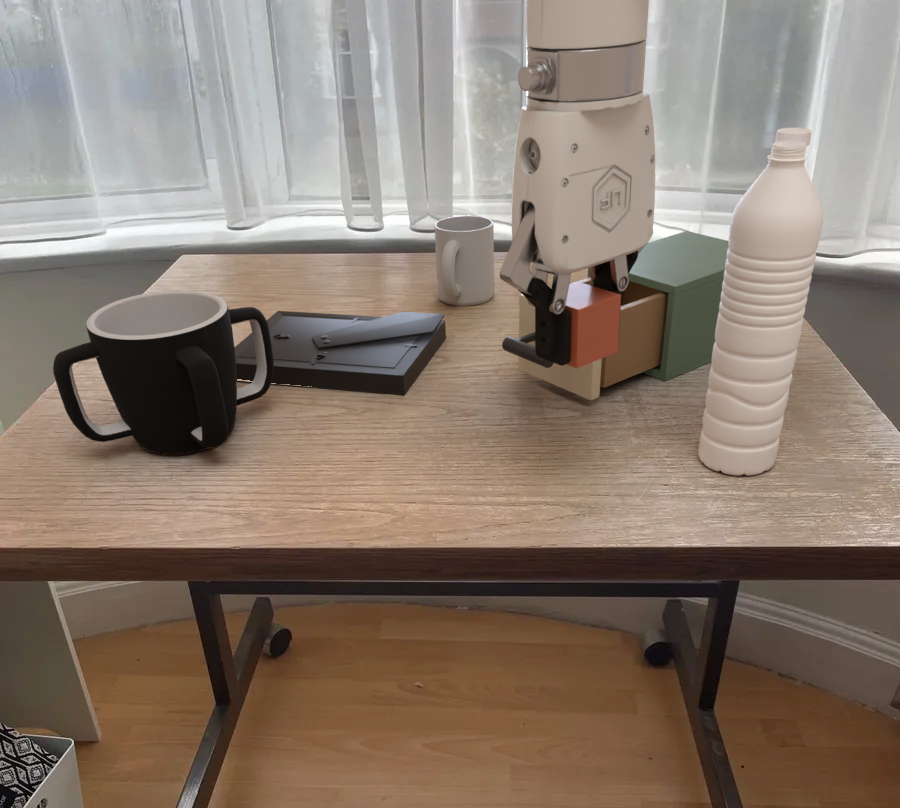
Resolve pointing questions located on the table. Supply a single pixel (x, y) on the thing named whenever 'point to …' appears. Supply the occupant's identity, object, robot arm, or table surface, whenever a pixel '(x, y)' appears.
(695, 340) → the cabinet
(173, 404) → the mug
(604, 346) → the block
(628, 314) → the drawer
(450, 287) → the cup
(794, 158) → the water bottle
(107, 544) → the table surface
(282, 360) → the picture frame
